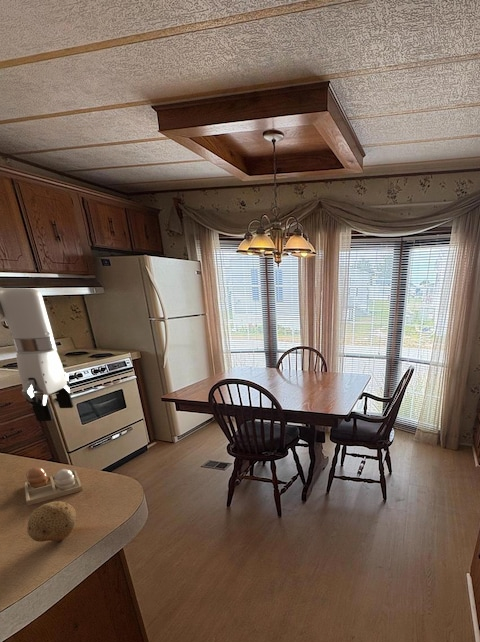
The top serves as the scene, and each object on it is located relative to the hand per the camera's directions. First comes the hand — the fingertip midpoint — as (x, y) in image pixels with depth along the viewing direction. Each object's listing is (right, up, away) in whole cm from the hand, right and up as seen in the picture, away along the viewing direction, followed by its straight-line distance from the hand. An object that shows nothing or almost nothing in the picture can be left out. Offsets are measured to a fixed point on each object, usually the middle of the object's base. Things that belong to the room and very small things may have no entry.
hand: (56, 413), depth 86 cm
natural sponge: (+5, -31, -5) cm, 31 cm away
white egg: (-8, -21, +14) cm, 27 cm away
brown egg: (-16, -21, +15) cm, 30 cm away
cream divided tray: (-12, -22, +15) cm, 29 cm away
